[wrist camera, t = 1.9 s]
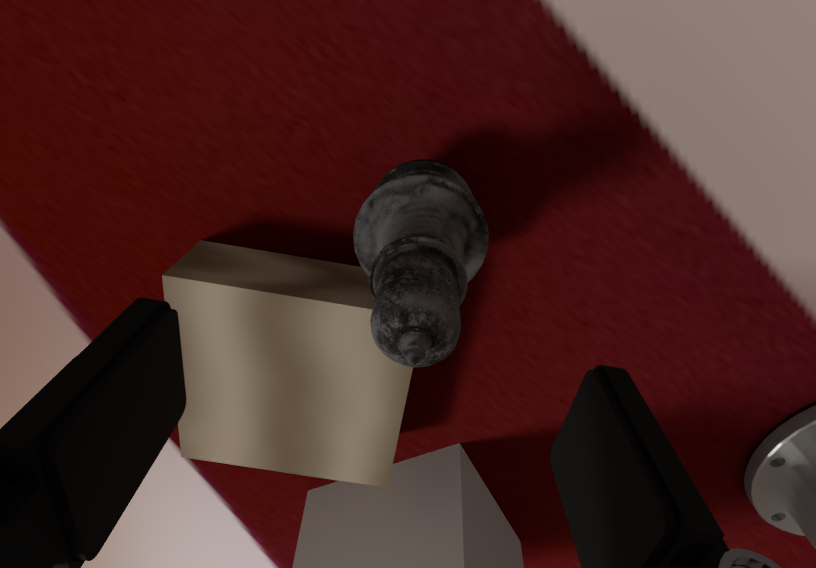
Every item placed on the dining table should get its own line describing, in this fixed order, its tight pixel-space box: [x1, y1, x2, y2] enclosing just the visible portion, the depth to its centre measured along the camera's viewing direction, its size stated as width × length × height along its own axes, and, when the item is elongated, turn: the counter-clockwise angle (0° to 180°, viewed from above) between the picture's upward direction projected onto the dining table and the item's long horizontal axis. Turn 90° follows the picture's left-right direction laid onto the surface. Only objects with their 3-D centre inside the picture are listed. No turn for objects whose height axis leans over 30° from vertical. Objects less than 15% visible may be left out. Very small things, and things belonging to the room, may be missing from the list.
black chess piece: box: [353, 160, 489, 367], centre depth 18 cm, size 6×6×12 cm
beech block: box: [162, 240, 413, 488], centre depth 26 cm, size 12×12×4 cm
